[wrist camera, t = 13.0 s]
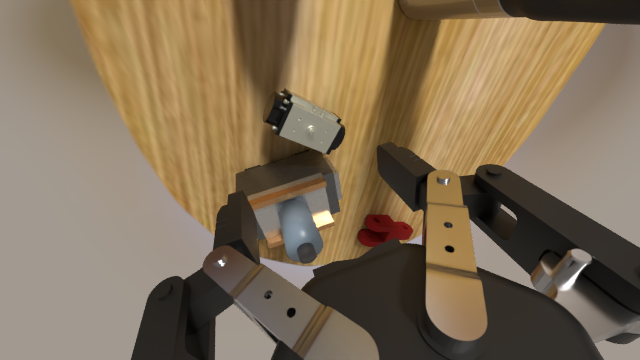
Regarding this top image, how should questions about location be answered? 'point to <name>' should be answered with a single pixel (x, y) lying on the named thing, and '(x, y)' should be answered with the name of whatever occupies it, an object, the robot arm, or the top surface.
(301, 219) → the blue-gray bottle
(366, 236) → the mechanical linkage
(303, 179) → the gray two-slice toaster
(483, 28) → the top surface
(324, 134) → the pneumatic valve
